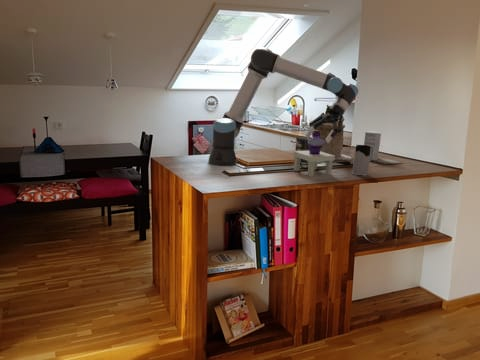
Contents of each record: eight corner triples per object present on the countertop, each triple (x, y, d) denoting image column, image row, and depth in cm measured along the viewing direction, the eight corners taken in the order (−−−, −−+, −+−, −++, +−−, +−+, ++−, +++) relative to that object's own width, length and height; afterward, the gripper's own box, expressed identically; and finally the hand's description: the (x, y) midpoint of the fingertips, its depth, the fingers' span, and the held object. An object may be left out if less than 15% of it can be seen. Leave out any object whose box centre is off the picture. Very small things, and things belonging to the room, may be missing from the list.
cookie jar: (353, 160, 276) (359, 107, 268) (315, 160, 270) (320, 105, 262) (335, 152, 299) (340, 103, 291) (300, 152, 293) (304, 101, 285)
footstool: (309, 176, 228) (311, 157, 226) (292, 169, 241) (293, 151, 238) (332, 174, 236) (335, 155, 233) (314, 168, 248) (316, 150, 246)
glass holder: (348, 173, 241) (351, 145, 237) (362, 170, 251) (365, 143, 247) (362, 176, 235) (366, 148, 231) (376, 173, 245) (380, 146, 241)
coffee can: (299, 164, 255) (301, 139, 252) (291, 160, 265) (293, 136, 261) (315, 164, 259) (318, 139, 256) (306, 160, 268) (309, 136, 265)
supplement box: (377, 160, 280) (380, 133, 276) (361, 159, 283) (365, 132, 278) (377, 158, 289) (381, 131, 284) (362, 156, 291) (366, 130, 287)
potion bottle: (326, 154, 236) (328, 131, 233) (317, 155, 230) (319, 132, 227) (312, 151, 241) (314, 128, 238) (302, 152, 235) (305, 129, 232)
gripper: (360, 116, 233) (338, 148, 227) (322, 111, 251) (301, 139, 245) (355, 106, 228) (333, 138, 222) (317, 101, 246) (295, 130, 241)
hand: (316, 139), depth 234 cm, fingers open, 13 cm apart
